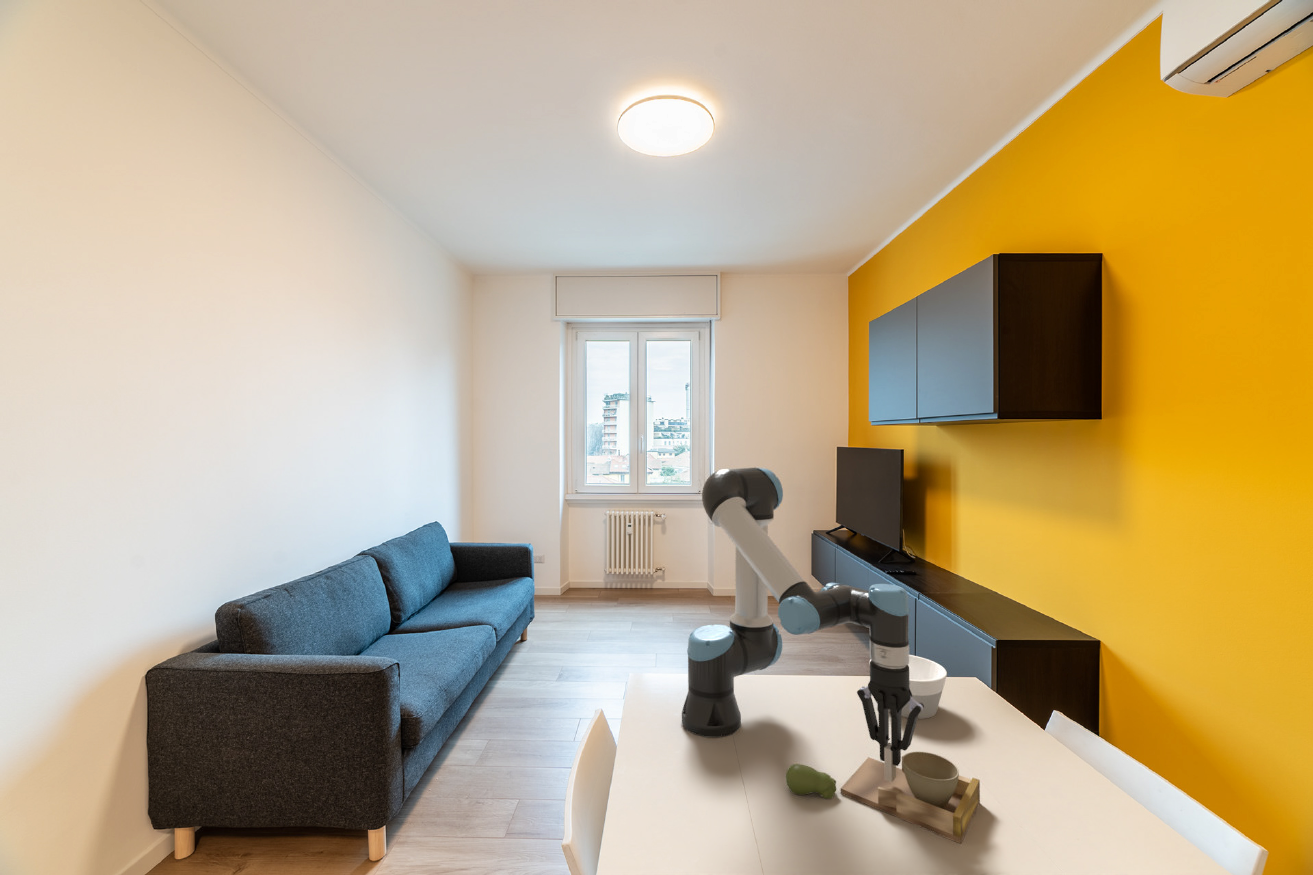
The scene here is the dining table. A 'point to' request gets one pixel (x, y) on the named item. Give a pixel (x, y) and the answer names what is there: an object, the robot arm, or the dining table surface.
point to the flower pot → (930, 777)
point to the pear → (809, 781)
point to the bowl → (925, 685)
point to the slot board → (914, 800)
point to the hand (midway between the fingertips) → (890, 778)
